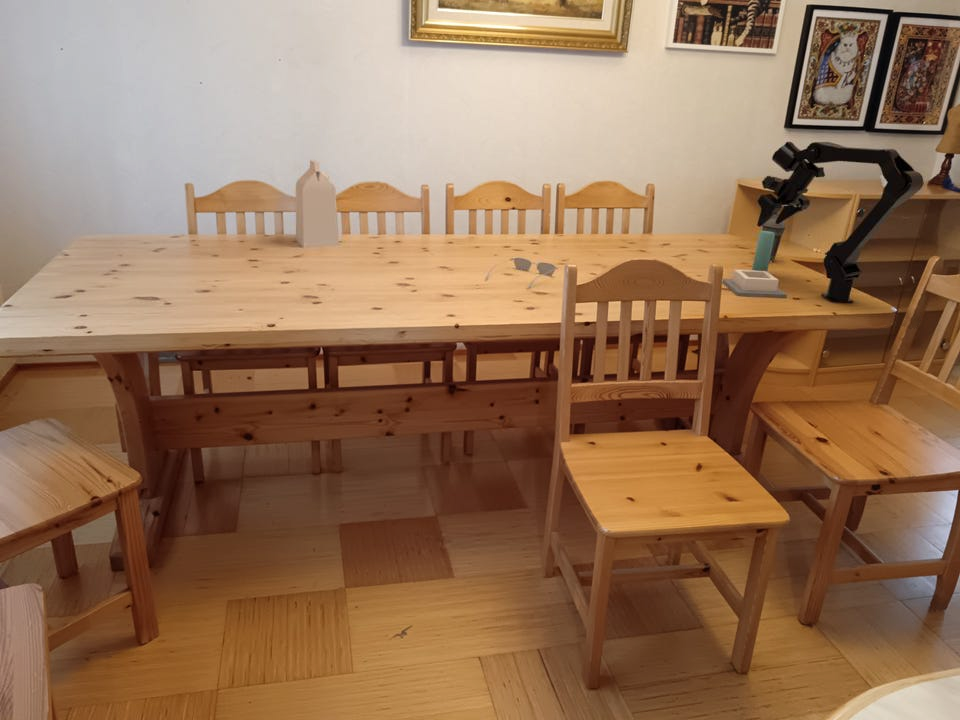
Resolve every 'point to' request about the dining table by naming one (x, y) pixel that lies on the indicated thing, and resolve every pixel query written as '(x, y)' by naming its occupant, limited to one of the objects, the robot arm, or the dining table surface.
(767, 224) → the beverage cup
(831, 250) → the robot arm
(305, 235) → the milk
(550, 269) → the eyeglasses
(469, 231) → the dining table surface
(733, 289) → the socket block
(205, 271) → the dining table surface
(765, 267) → the peg
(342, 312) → the dining table surface
